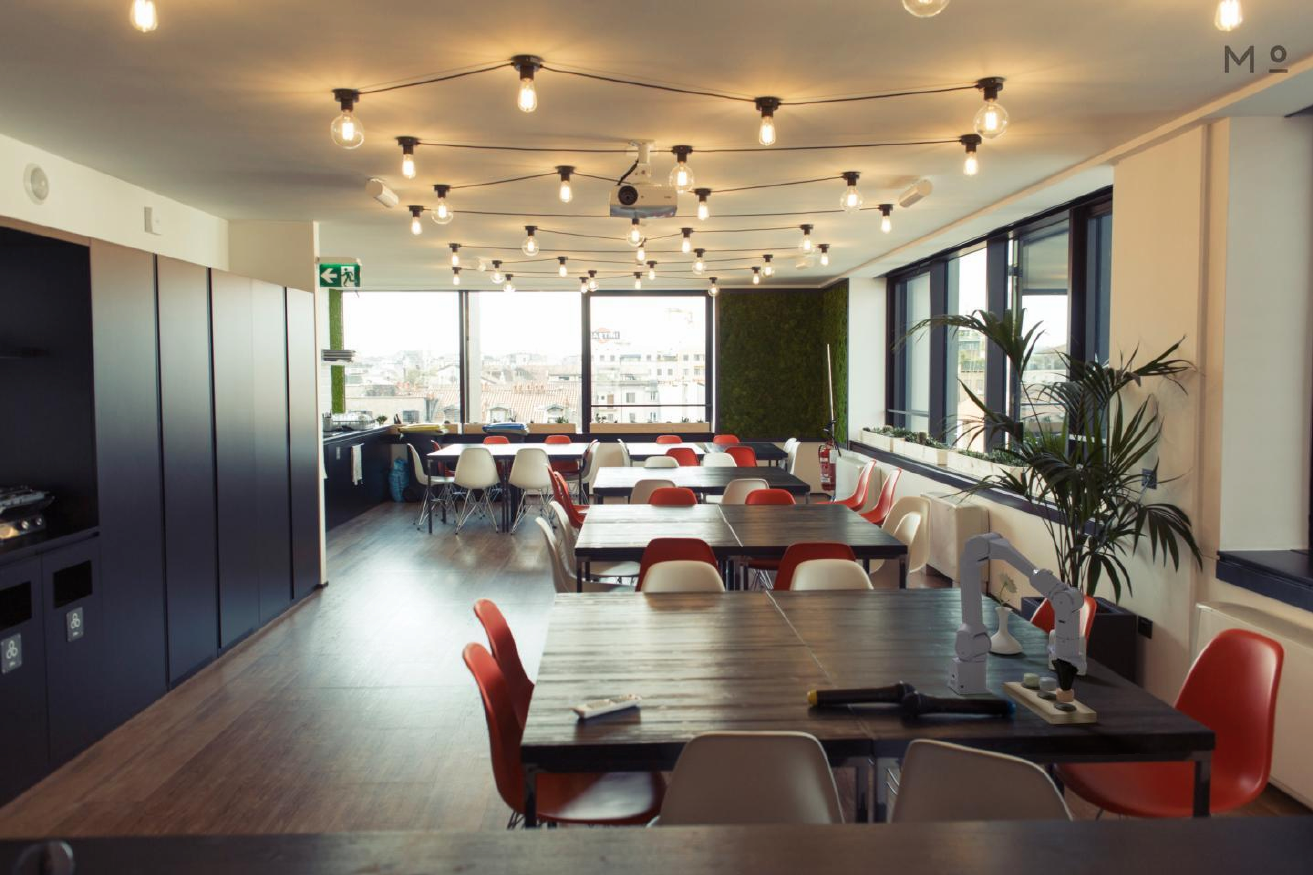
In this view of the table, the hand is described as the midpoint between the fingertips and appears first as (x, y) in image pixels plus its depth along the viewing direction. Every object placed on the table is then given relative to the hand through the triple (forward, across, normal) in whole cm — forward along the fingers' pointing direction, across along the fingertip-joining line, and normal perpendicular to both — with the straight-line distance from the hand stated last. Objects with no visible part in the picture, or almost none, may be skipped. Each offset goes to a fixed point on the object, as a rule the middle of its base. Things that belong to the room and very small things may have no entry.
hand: (1065, 689), depth 224 cm
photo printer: (+7, +34, -21) cm, 41 cm away
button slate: (+3, +8, 0) cm, 8 cm away
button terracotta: (+3, 0, 0) cm, 3 cm away
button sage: (+4, +16, 0) cm, 17 cm away
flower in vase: (+7, +55, -12) cm, 57 cm away
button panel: (+7, +8, 0) cm, 11 cm away
